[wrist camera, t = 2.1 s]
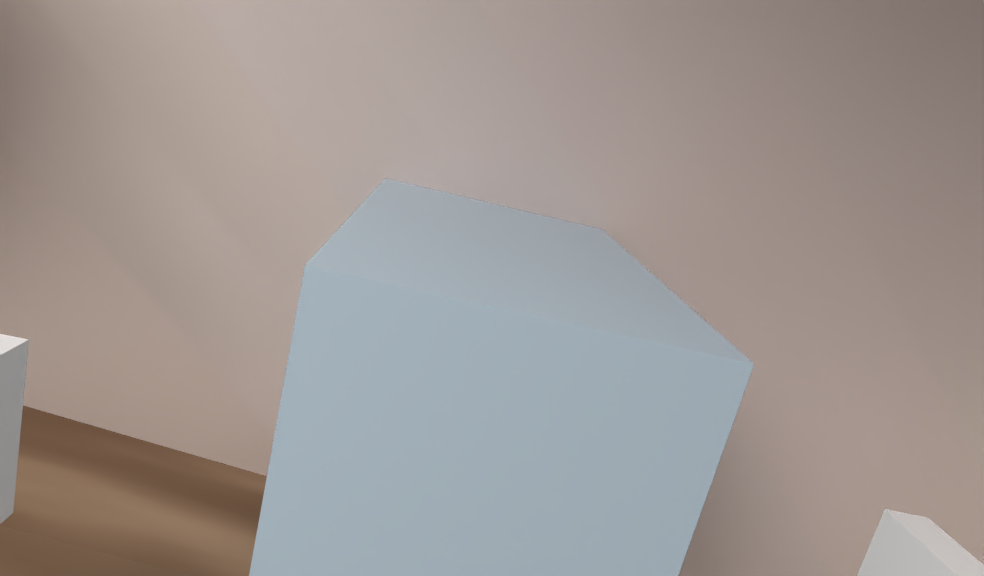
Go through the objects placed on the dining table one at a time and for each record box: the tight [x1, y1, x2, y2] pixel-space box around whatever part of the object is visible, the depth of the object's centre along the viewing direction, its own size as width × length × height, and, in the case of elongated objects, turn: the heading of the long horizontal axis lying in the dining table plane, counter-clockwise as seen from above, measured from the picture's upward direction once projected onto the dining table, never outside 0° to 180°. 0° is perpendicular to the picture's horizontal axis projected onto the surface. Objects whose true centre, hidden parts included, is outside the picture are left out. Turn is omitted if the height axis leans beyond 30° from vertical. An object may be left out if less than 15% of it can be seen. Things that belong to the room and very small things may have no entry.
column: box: [249, 178, 754, 576], centre depth 14 cm, size 6×6×10 cm
